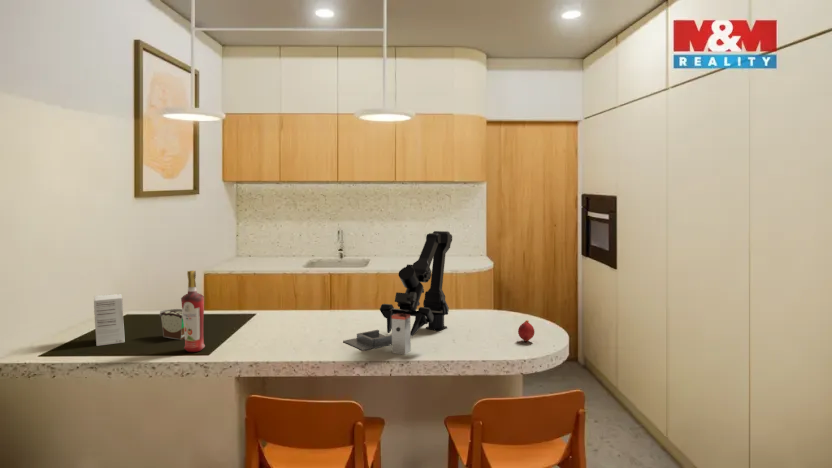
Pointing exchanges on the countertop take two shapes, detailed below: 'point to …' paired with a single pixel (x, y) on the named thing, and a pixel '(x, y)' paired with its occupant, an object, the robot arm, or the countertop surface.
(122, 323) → the supplement box
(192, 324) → the liquor
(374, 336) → the plate
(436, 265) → the robot arm
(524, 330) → the onion
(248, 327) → the countertop surface
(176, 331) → the food container
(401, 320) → the block
